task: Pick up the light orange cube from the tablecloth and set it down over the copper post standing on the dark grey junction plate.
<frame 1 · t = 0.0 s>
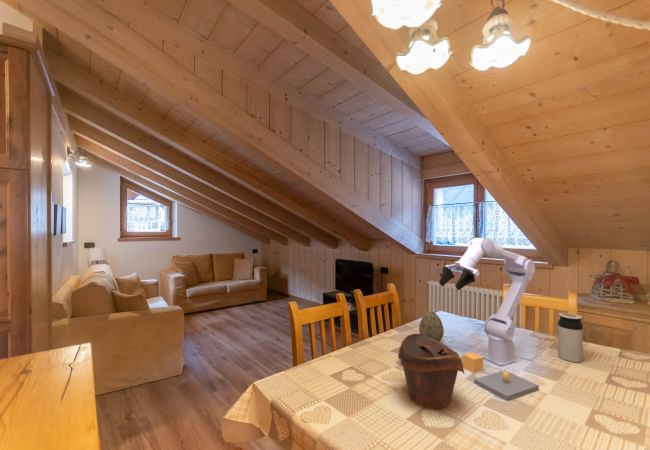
hand: (448, 286, 115), 32 cm above the table, tool tilted 50°, fingers open, 7 cm apart
brown tapered pot: (430, 399, 98), on the table
junction plate: (505, 386, 106), on the table
decorative egg: (431, 344, 144), on the table
valve: (412, 364, 123), on the table
travel mug: (570, 359, 129), on the table
light orange cube: (472, 368, 119), on the table
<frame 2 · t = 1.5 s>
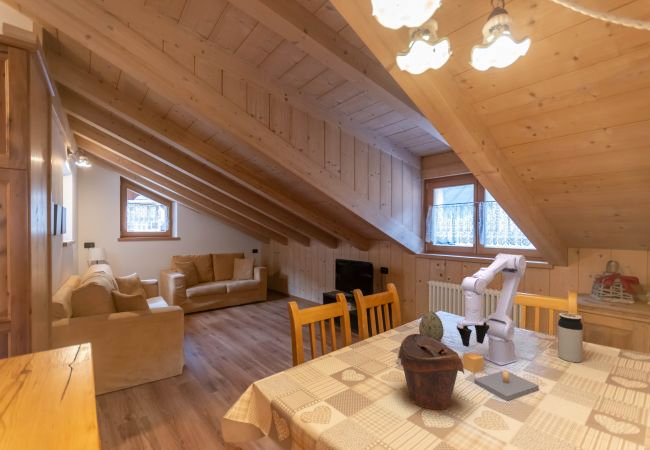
hand: (472, 344, 119), 9 cm above the table, tool pointing down, fingers open, 7 cm apart
nothing on the table moved.
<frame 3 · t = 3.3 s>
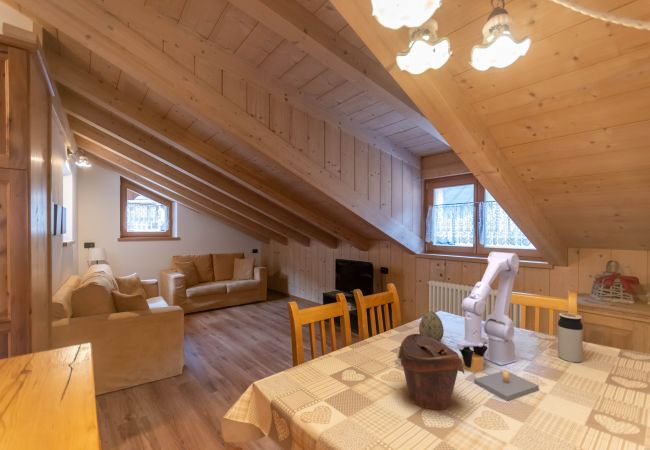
hand: (472, 365, 119), 1 cm above the table, tool pointing down, fingers closed on light orange cube, 5 cm apart
light orange cube: (472, 368, 119), on the table, touching gripper
everything else where it was.
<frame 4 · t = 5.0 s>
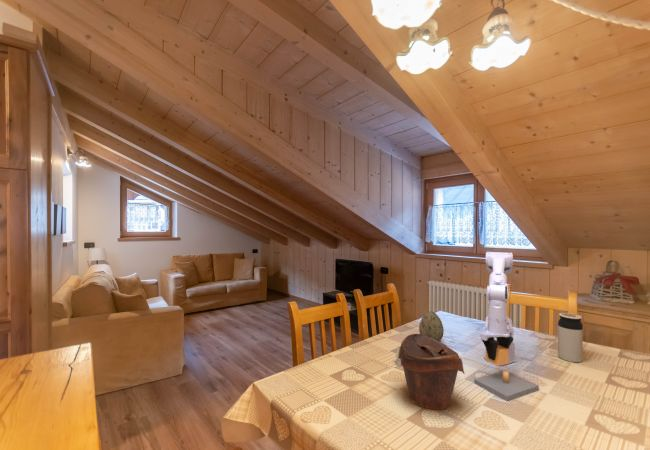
hand: (497, 357, 109), 8 cm above the table, tool pointing down, fingers closed on light orange cube, 5 cm apart
light orange cube: (497, 361, 109), point 7 cm above the table, touching gripper
everything else where it was.
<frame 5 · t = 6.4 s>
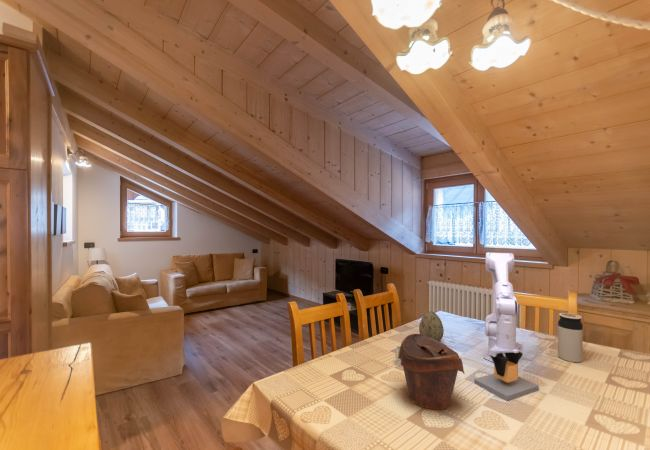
hand: (505, 373, 106), 4 cm above the table, tool pointing down, fingers closed on light orange cube, 5 cm apart
light orange cube: (505, 377, 106), point 3 cm above the table, touching gripper
when the fingers open (4 cm above the table, at t = 7.1 s): light orange cube drops 1 cm, resting on junction plate.
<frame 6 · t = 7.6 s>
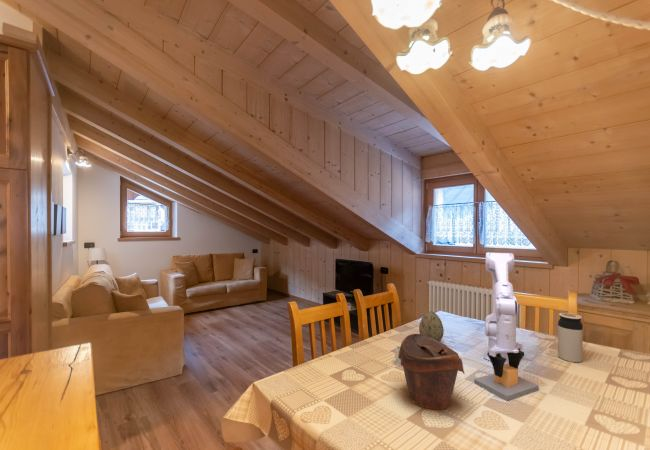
hand: (505, 373, 106), 4 cm above the table, tool pointing down, fingers open, 7 cm apart
light orange cube: (505, 382, 106), point 1 cm above the table, touching junction plate
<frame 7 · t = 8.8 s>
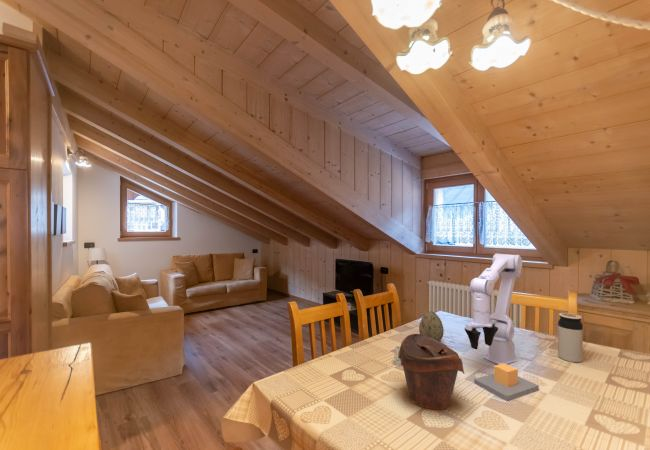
hand: (481, 346, 117), 9 cm above the table, tool pointing down, fingers open, 7 cm apart
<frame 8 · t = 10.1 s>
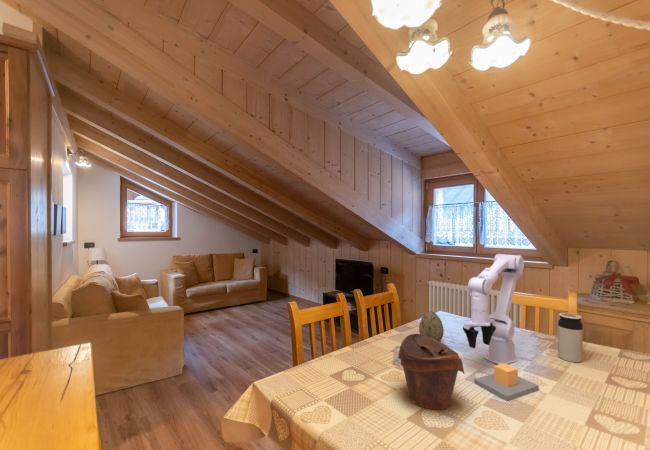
hand: (479, 345, 118), 9 cm above the table, tool pointing down, fingers open, 7 cm apart
at the end: light orange cube 0.0 cm from the junction plate (horizontally); light orange cube point 1.5 cm above the table; light orange cube tilted 0° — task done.
